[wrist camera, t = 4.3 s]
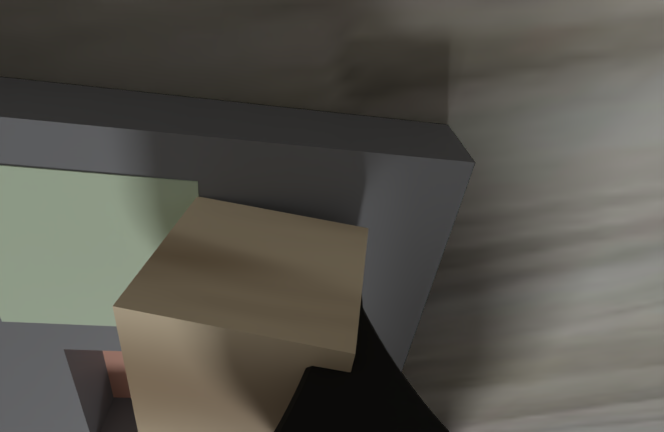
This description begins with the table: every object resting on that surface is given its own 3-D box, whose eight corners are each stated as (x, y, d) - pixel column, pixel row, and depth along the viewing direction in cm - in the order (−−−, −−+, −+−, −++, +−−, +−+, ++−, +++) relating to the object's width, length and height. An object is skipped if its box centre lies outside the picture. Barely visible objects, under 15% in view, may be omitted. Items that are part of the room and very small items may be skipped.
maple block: (342, 344, 14) (323, 477, 10) (202, 316, 14) (139, 438, 10) (368, 228, 11) (355, 354, 8) (197, 196, 11) (112, 306, 8)
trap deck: (363, 409, 22) (370, 462, 19) (-111, 399, 19) (-162, 459, 17) (447, 124, 13) (475, 163, 11) (-374, 36, 11) (-539, 65, 9)
